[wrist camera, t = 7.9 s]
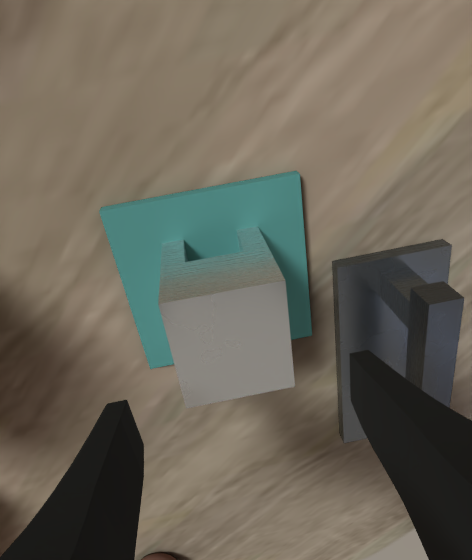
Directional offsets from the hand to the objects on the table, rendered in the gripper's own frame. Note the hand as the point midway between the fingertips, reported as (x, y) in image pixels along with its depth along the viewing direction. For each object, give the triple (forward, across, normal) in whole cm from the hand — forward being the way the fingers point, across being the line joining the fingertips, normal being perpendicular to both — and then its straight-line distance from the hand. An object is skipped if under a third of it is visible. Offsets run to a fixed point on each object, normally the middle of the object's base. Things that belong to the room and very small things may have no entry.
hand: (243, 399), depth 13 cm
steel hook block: (+8, 0, 0) cm, 8 cm away
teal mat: (+9, 0, 0) cm, 9 cm away
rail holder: (+9, -9, +7) cm, 14 cm away
